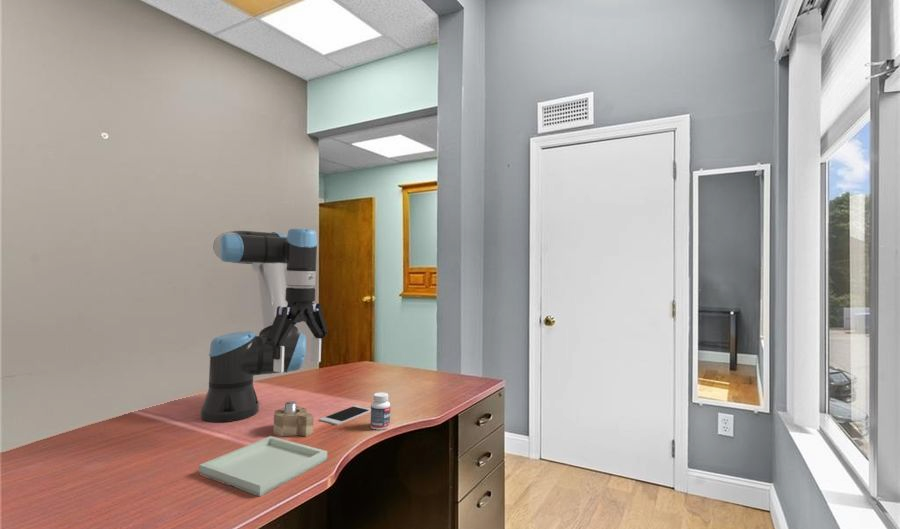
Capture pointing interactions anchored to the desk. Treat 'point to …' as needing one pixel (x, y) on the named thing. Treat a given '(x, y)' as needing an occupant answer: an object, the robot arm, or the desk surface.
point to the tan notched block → (293, 423)
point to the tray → (263, 464)
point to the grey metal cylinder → (290, 407)
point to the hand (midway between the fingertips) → (298, 366)
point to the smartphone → (345, 415)
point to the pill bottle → (380, 412)
